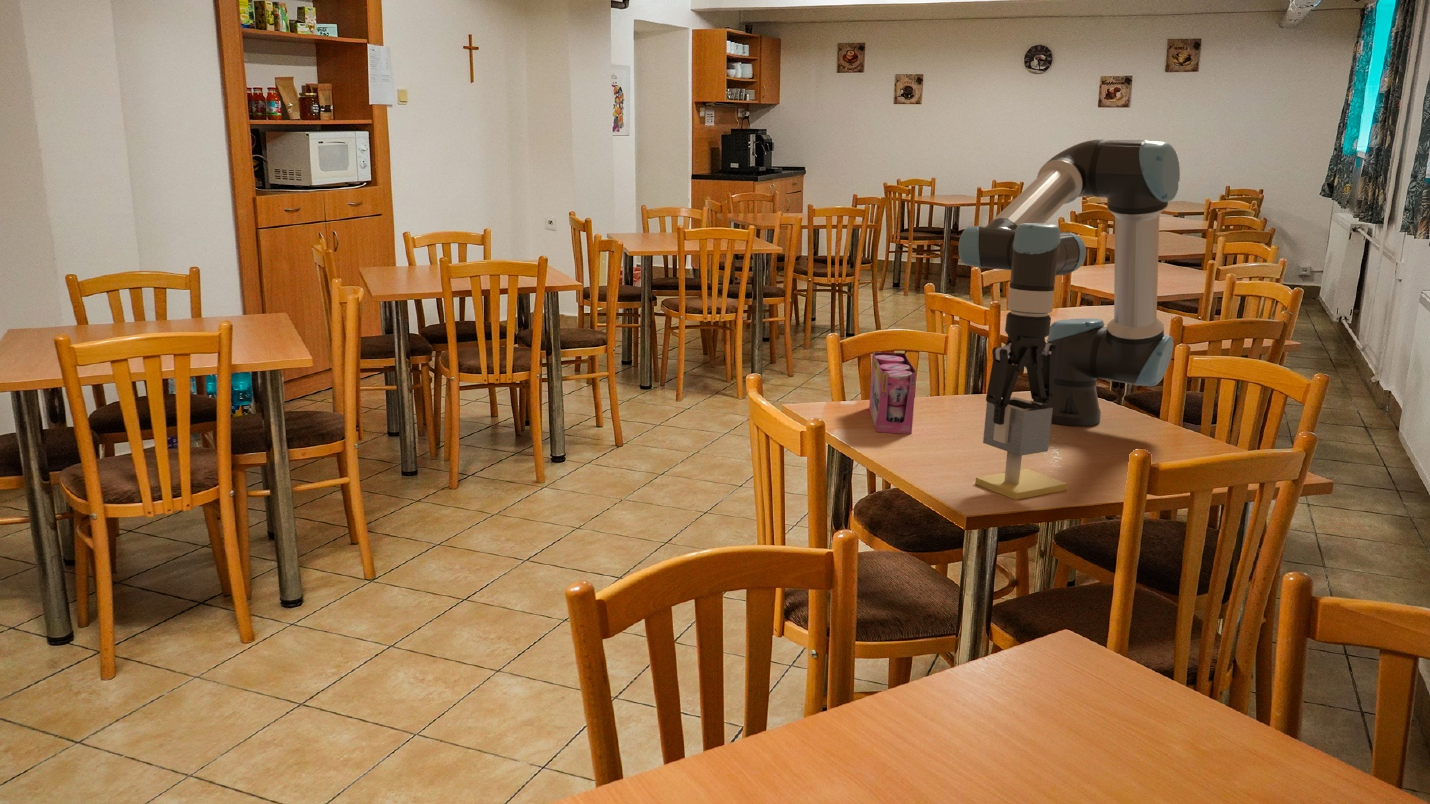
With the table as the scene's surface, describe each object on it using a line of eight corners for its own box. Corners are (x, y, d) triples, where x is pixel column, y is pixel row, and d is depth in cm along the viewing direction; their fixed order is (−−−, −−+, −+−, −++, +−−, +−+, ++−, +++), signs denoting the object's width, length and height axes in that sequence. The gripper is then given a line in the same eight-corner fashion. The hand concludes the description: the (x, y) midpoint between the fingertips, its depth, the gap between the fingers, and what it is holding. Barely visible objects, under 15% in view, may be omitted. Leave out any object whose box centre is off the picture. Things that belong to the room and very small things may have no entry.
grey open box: (983, 442, 193) (987, 400, 191) (1010, 438, 196) (1015, 396, 194) (1019, 455, 185) (1024, 411, 183) (1047, 451, 189) (1052, 407, 187)
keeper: (1025, 474, 201) (1029, 438, 200) (1066, 489, 193) (1071, 452, 191) (975, 483, 195) (978, 446, 193) (1015, 499, 187) (1019, 460, 185)
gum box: (913, 436, 226) (918, 374, 223) (876, 434, 227) (880, 372, 223) (901, 409, 249) (906, 352, 246) (868, 407, 250) (871, 351, 247)
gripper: (1052, 307, 193) (1039, 428, 199) (971, 312, 183) (960, 439, 189) (1085, 313, 187) (1070, 438, 192) (1003, 319, 177) (990, 450, 182)
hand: (1015, 438), depth 190 cm, fingers closed on grey open box, 7 cm apart
